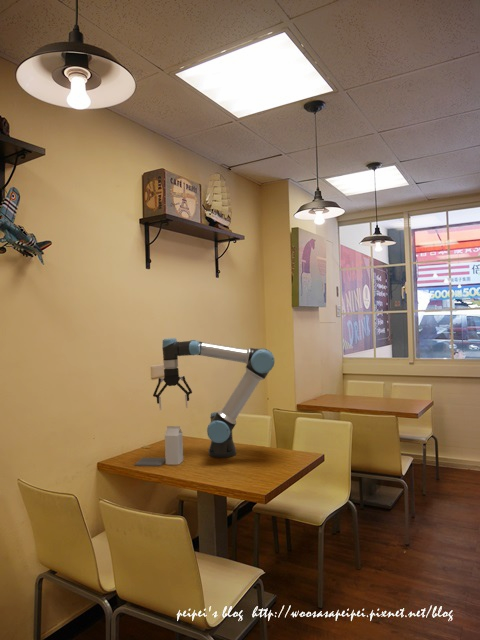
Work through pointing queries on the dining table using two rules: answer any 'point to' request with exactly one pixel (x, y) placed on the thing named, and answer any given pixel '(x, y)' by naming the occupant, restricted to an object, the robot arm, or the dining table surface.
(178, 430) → the milk carton
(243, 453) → the dining table surface
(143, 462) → the mat
